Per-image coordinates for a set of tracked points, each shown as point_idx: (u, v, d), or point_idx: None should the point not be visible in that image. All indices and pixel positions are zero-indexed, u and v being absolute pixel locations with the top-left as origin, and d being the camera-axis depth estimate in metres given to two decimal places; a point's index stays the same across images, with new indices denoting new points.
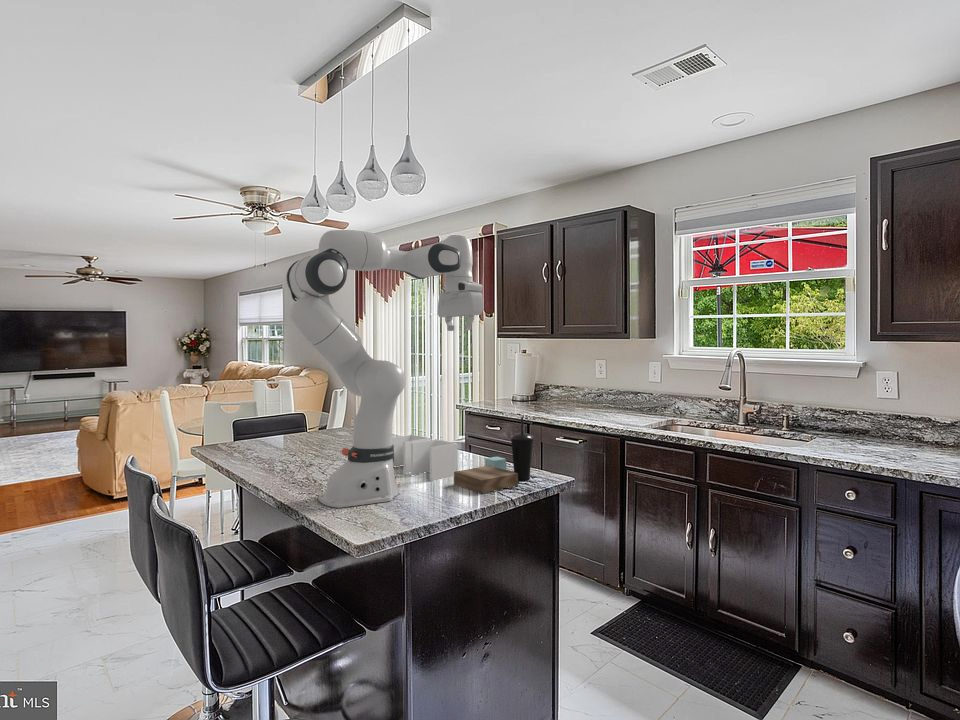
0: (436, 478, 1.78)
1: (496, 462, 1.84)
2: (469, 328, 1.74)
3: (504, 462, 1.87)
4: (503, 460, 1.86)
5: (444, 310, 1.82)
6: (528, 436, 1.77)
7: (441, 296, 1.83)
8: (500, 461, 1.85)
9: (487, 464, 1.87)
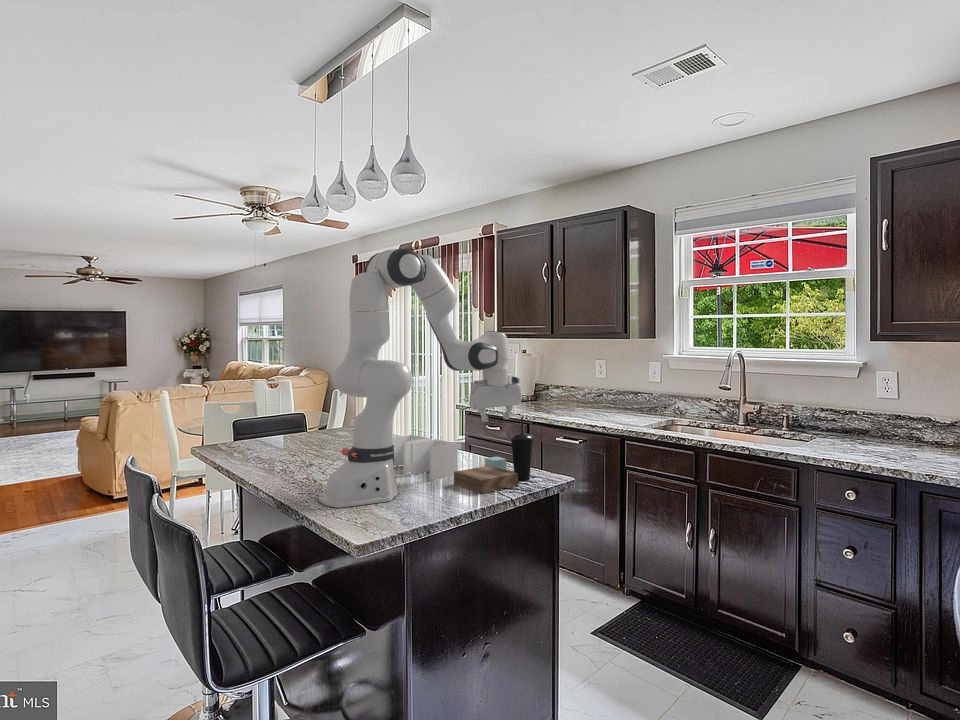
0: (436, 478, 1.78)
1: (496, 462, 1.84)
2: None
3: (504, 462, 1.87)
4: (503, 460, 1.86)
5: (486, 402, 1.82)
6: (528, 436, 1.77)
7: (482, 388, 1.81)
8: (500, 461, 1.85)
9: (487, 464, 1.87)
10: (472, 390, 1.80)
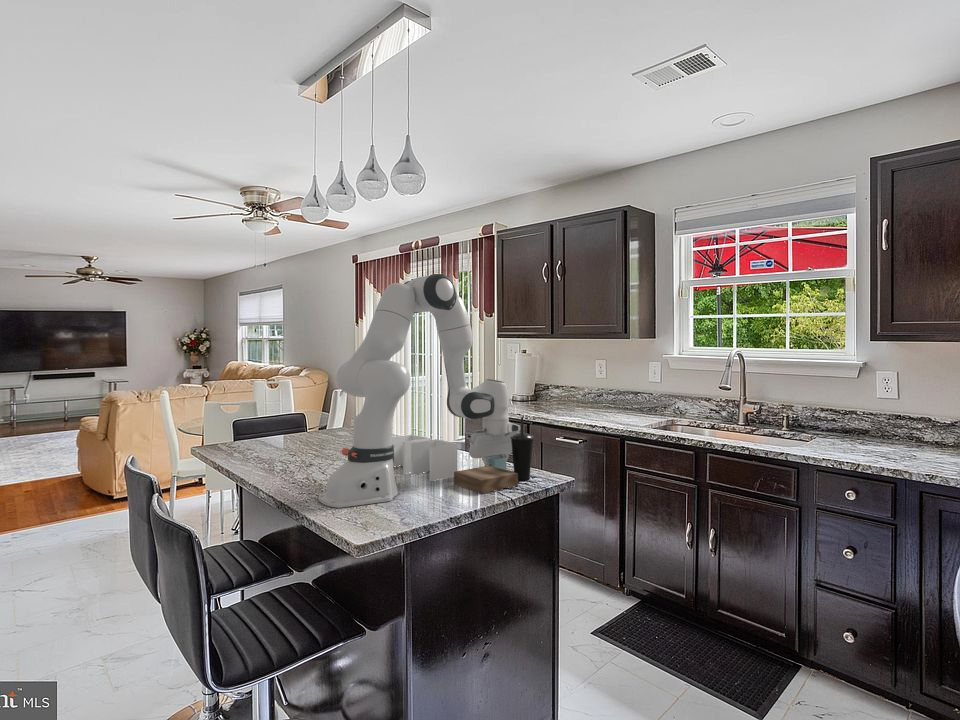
0: (436, 478, 1.78)
1: (496, 462, 1.84)
2: None
3: (504, 462, 1.87)
4: (503, 460, 1.86)
5: (485, 451, 1.83)
6: (528, 436, 1.77)
7: (482, 437, 1.81)
8: (500, 461, 1.85)
9: None
10: (472, 439, 1.81)
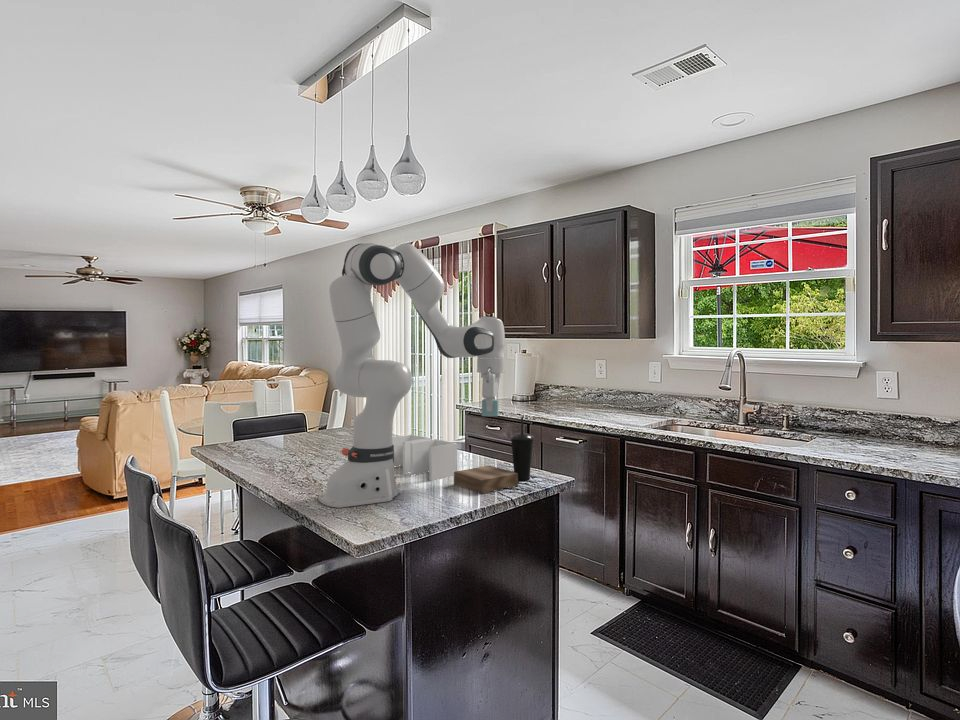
0: (436, 478, 1.78)
1: (497, 402, 1.77)
2: None
3: (498, 403, 1.80)
4: (498, 401, 1.79)
5: None
6: (528, 436, 1.77)
7: (494, 375, 1.71)
8: None
9: (485, 406, 1.76)
10: (489, 378, 1.69)
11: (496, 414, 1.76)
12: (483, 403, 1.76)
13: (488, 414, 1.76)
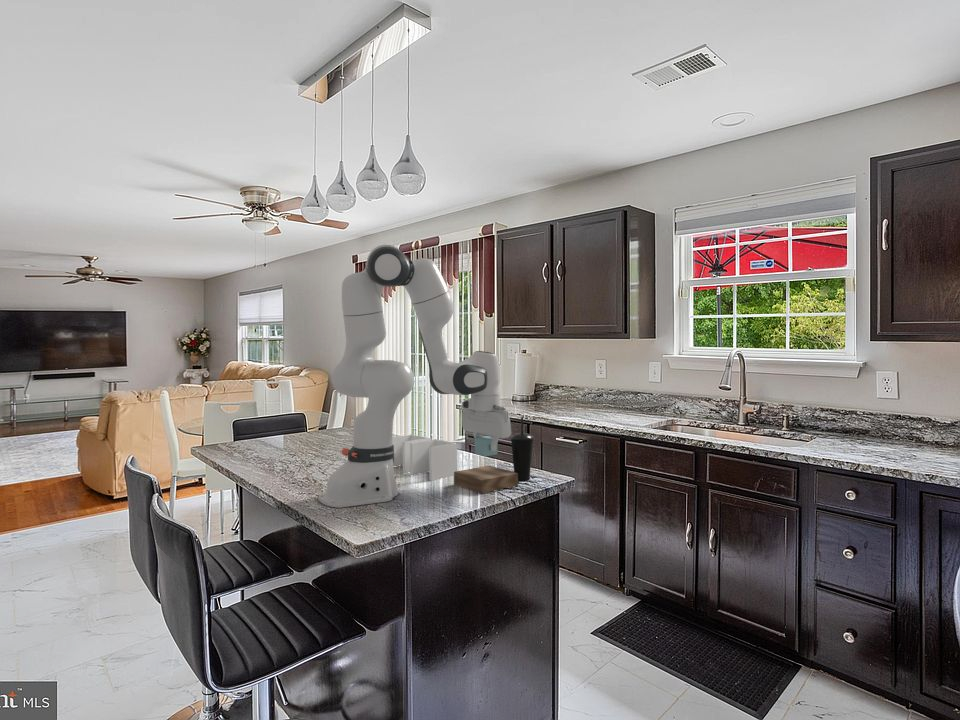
0: (435, 478, 1.78)
1: None
2: None
3: None
4: None
5: None
6: (528, 436, 1.77)
7: None
8: None
9: (487, 445, 1.68)
10: None
11: (496, 452, 1.70)
12: (486, 443, 1.67)
13: (490, 453, 1.69)
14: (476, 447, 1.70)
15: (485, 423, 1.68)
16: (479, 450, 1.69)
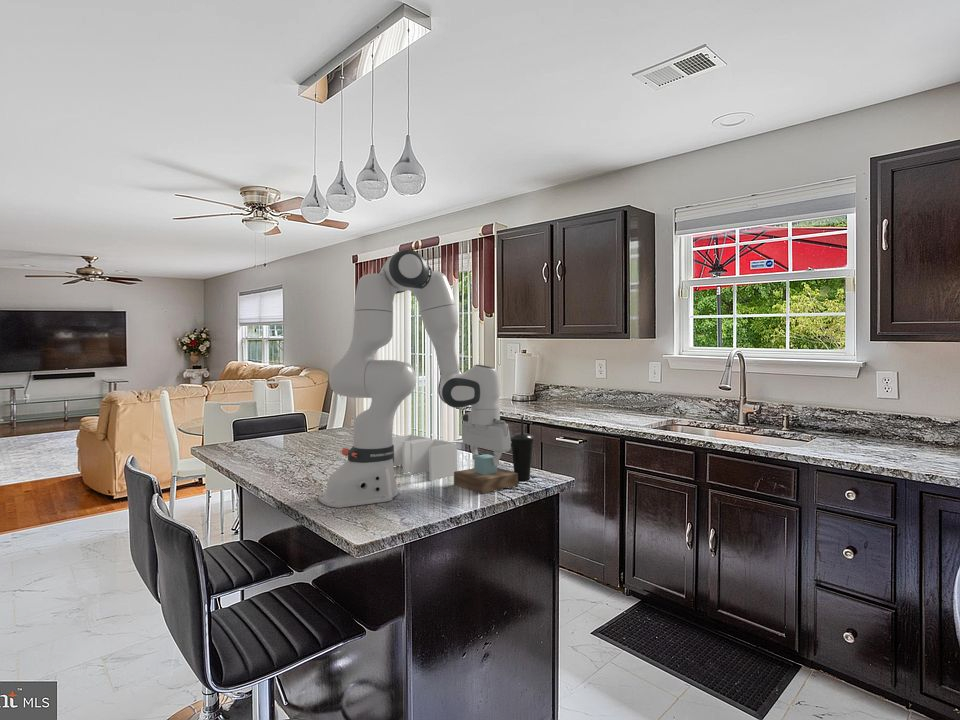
0: (435, 478, 1.78)
1: None
2: None
3: None
4: None
5: None
6: (528, 436, 1.77)
7: None
8: None
9: (487, 464, 1.68)
10: None
11: (496, 470, 1.70)
12: (485, 461, 1.68)
13: (489, 472, 1.69)
14: (476, 465, 1.71)
15: (485, 437, 1.68)
16: (478, 468, 1.69)
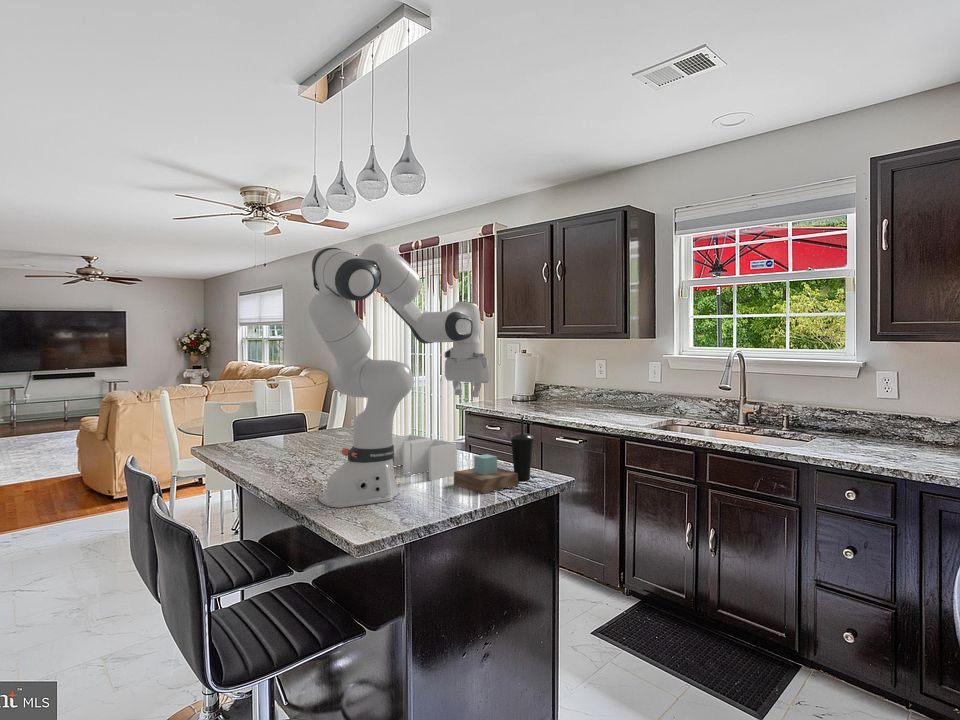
0: (435, 478, 1.78)
1: None
2: None
3: None
4: None
5: None
6: (528, 436, 1.77)
7: None
8: None
9: (487, 464, 1.68)
10: None
11: (496, 470, 1.70)
12: (485, 461, 1.68)
13: (489, 472, 1.69)
14: (476, 465, 1.71)
15: (465, 370, 1.75)
16: (478, 468, 1.69)
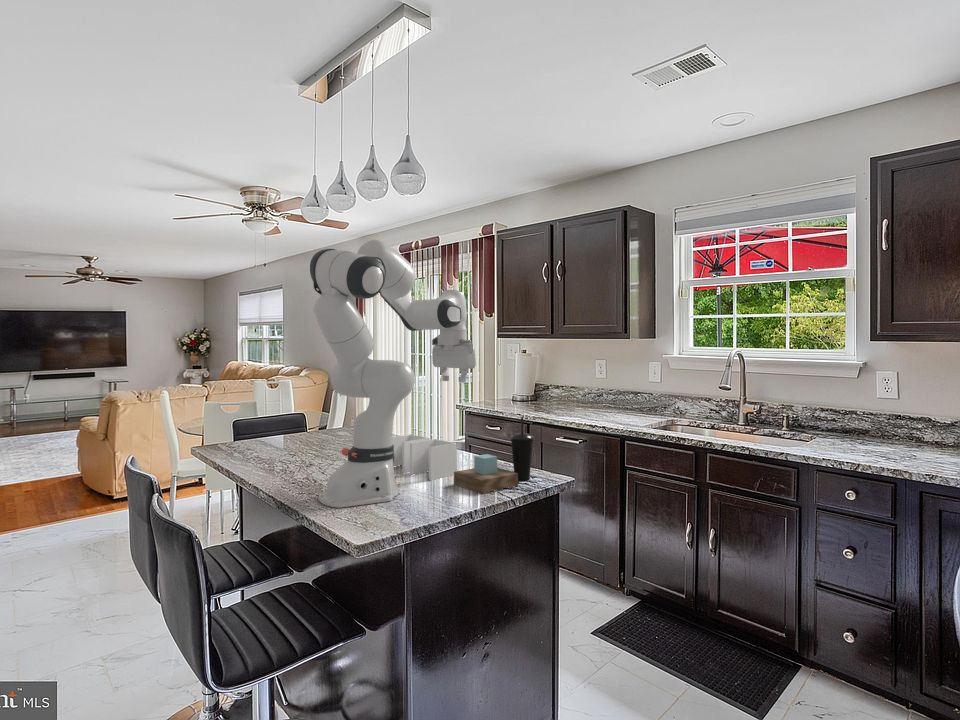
0: (435, 478, 1.78)
1: None
2: None
3: None
4: None
5: None
6: (528, 436, 1.77)
7: None
8: None
9: (487, 464, 1.68)
10: None
11: (496, 470, 1.70)
12: (485, 461, 1.68)
13: (489, 472, 1.69)
14: (476, 465, 1.71)
15: (452, 357, 1.81)
16: (478, 468, 1.69)
